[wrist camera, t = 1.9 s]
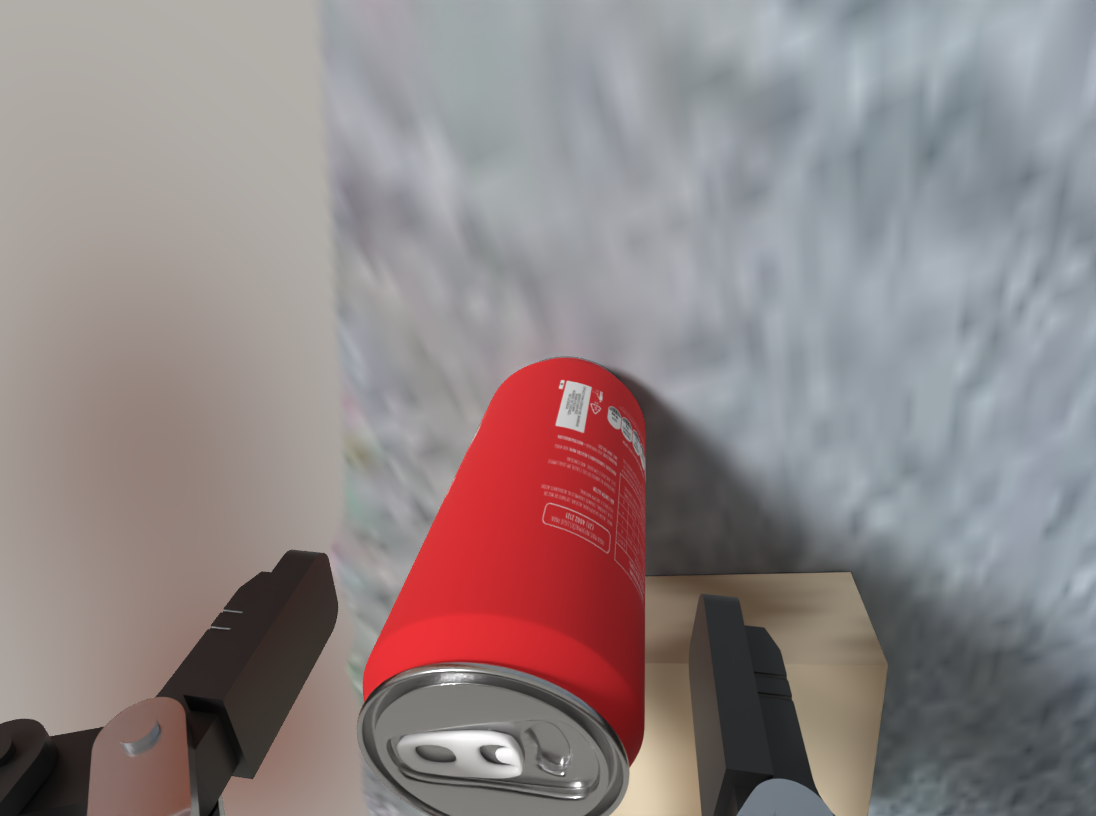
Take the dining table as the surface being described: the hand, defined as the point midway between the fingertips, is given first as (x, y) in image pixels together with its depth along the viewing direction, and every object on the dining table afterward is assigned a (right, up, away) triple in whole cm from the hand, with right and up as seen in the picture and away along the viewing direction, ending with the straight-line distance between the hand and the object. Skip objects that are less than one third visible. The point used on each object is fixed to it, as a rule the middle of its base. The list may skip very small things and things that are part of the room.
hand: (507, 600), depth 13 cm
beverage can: (+2, +4, +8) cm, 9 cm away
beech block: (+7, -7, +13) cm, 16 cm away
